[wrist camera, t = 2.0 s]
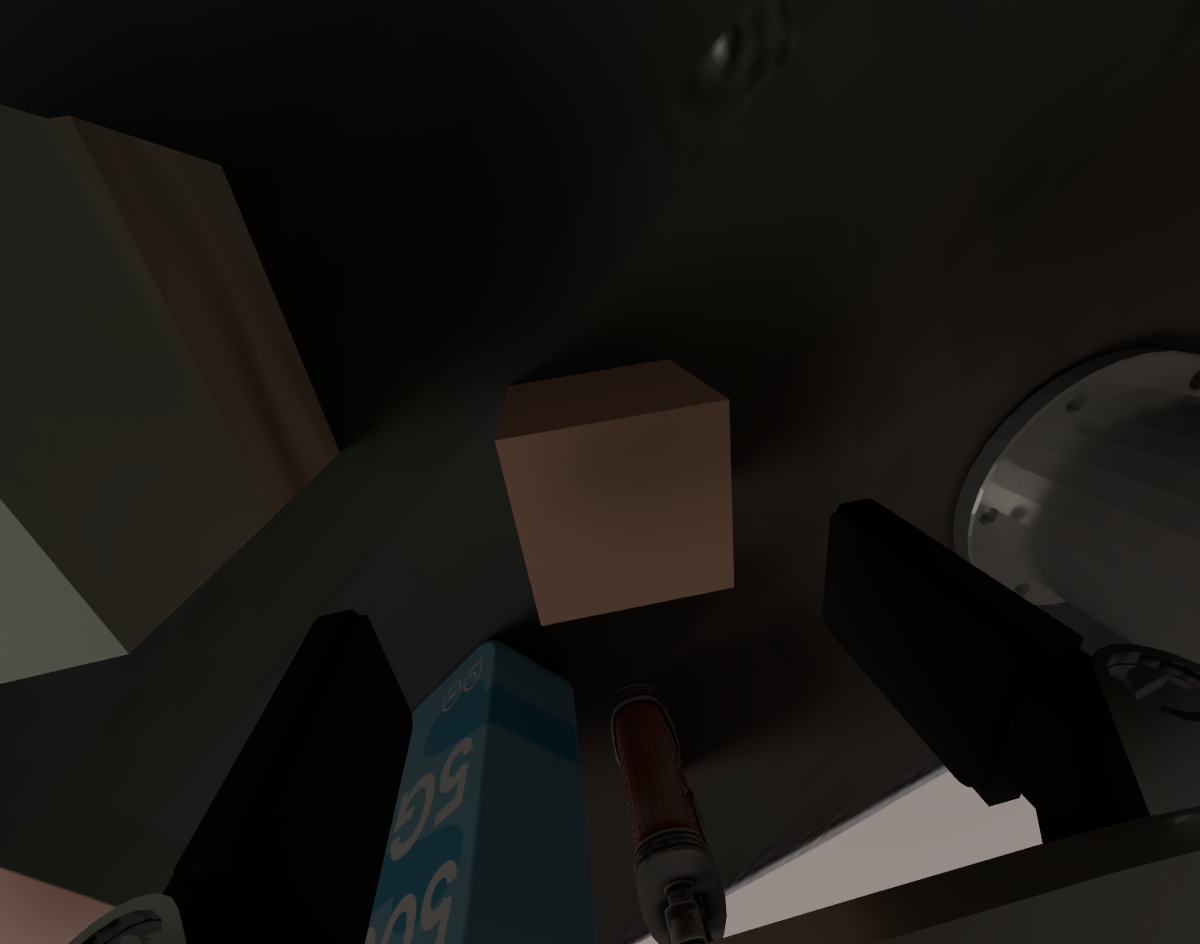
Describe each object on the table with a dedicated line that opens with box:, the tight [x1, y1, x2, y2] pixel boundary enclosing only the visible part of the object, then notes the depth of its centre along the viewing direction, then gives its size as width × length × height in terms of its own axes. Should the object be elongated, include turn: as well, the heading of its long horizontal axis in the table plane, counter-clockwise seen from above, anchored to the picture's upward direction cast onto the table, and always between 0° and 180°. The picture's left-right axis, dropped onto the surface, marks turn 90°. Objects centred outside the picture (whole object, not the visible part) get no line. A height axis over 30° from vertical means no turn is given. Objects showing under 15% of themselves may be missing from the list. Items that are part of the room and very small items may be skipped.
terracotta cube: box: [495, 359, 734, 626], centre depth 16 cm, size 6×6×6 cm
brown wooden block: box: [49, 116, 340, 515], centre depth 13 cm, size 9×9×5 cm
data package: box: [365, 640, 597, 944], centre depth 18 cm, size 12×4×12 cm, turn 136°
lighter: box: [609, 683, 727, 944], centre depth 21 cm, size 8×3×10 cm, turn 13°
